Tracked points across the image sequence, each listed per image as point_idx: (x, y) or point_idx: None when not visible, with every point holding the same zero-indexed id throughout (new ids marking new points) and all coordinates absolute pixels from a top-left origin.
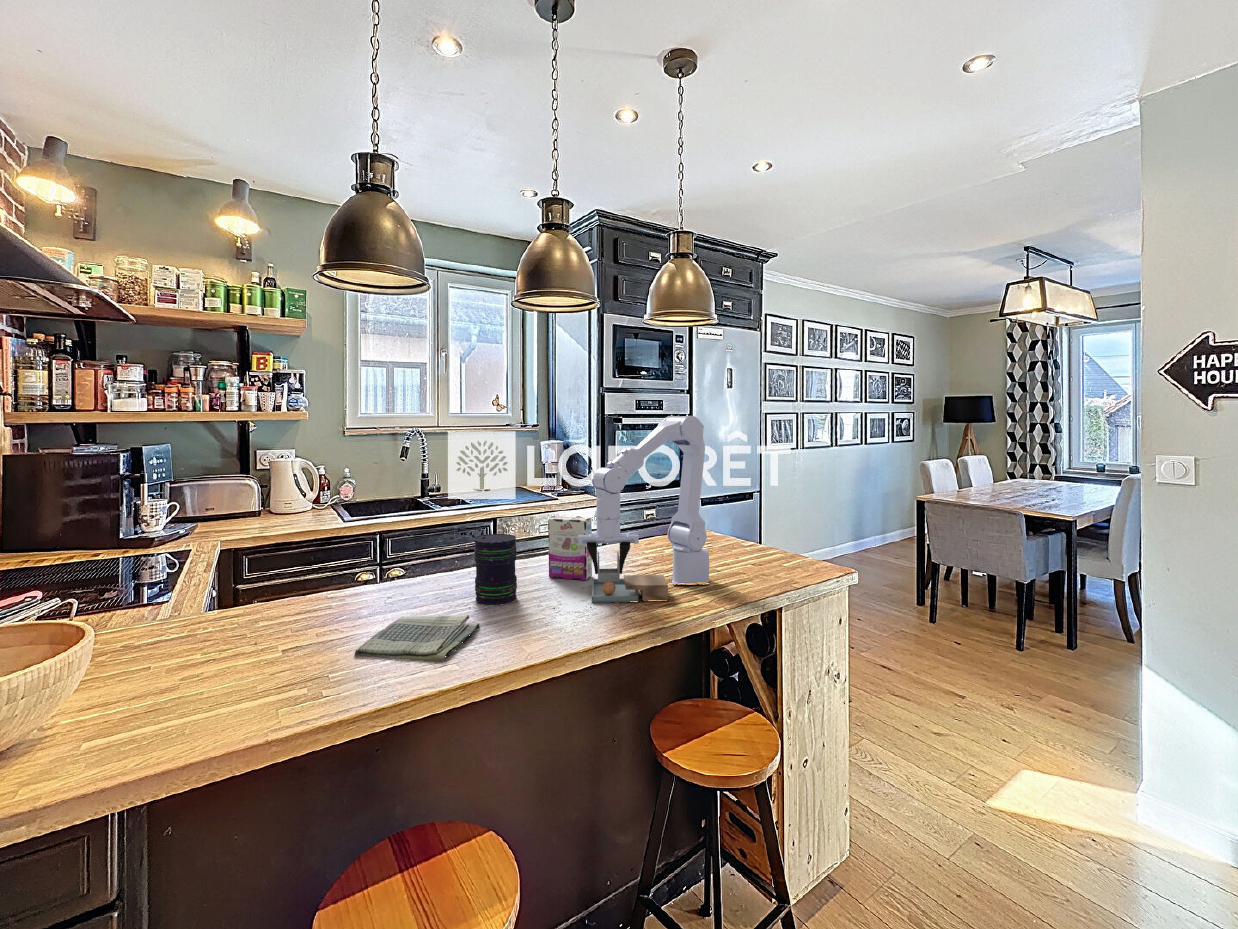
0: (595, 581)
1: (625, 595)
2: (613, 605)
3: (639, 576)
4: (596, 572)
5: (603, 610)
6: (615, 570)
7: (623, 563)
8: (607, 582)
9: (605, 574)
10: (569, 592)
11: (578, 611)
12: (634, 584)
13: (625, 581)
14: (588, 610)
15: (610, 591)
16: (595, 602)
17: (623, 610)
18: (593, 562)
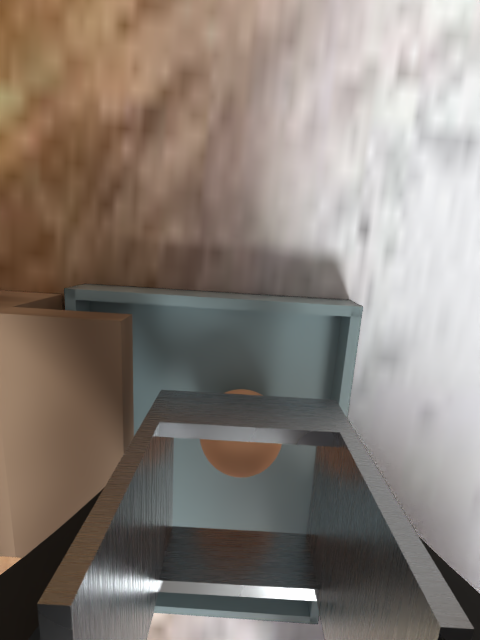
0: (298, 603)
1: (150, 384)
2: (230, 251)
3: (16, 530)
4: None
5: (297, 162)
6: (177, 567)
7: (52, 533)
8: (252, 445)
9: (281, 429)
10: (444, 493)
11: (448, 156)
12: (52, 341)
13: (119, 425)
14: (386, 170)
15: (235, 390)
16: (330, 300)
17: (179, 150)
18: (457, 577)
